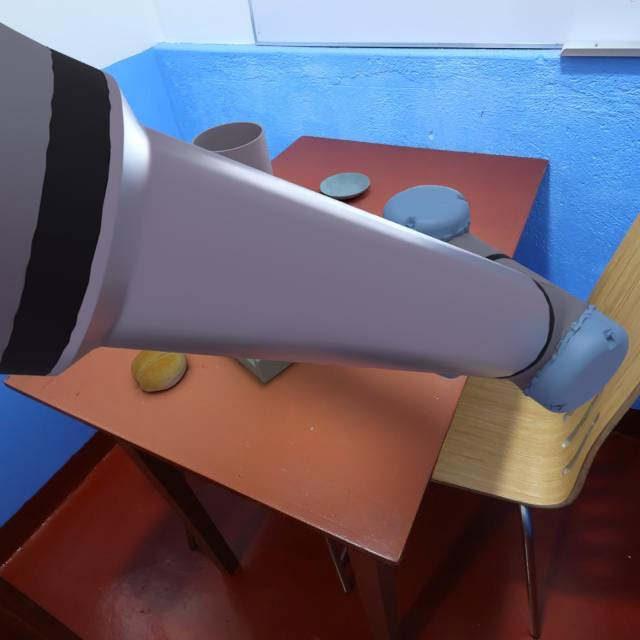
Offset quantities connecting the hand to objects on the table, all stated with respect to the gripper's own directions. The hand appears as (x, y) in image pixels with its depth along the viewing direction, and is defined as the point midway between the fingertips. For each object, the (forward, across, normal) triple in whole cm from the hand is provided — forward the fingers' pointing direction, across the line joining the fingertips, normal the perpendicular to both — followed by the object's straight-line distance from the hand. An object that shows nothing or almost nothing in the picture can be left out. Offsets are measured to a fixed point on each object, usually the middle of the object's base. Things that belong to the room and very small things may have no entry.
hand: (216, 247), depth 68 cm
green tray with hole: (-2, +1, -18) cm, 18 cm away
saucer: (+13, +48, -18) cm, 53 cm away
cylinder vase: (+14, +18, -18) cm, 29 cm away
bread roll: (+6, -13, -18) cm, 23 cm away
